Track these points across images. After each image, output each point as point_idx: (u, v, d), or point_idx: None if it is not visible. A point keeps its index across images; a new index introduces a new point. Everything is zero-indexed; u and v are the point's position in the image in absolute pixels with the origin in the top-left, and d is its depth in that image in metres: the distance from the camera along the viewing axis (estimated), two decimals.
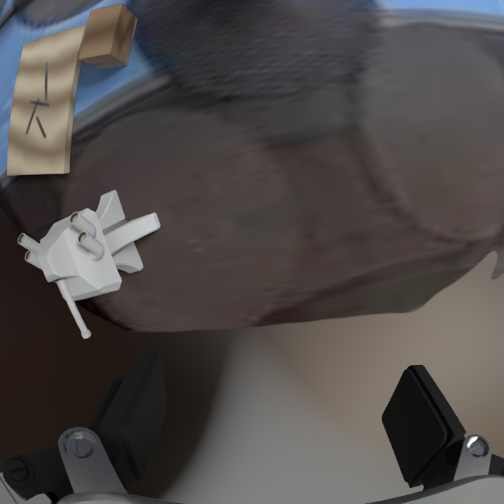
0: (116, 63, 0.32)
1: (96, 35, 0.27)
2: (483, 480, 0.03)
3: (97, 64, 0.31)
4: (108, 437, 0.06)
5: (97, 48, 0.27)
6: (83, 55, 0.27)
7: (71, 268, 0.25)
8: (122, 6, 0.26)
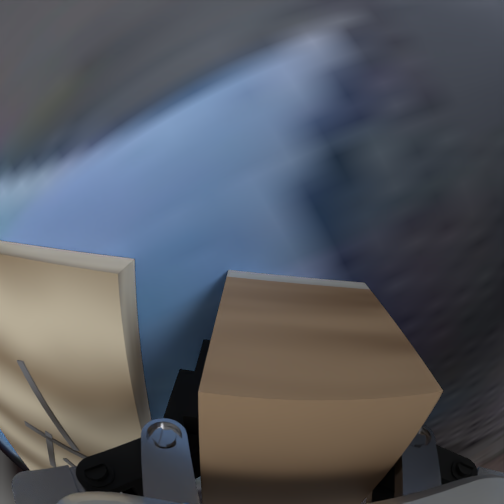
0: None
1: (278, 501, 0.06)
2: (483, 480, 0.03)
3: None
4: (190, 424, 0.07)
5: None
6: None
7: None
8: None
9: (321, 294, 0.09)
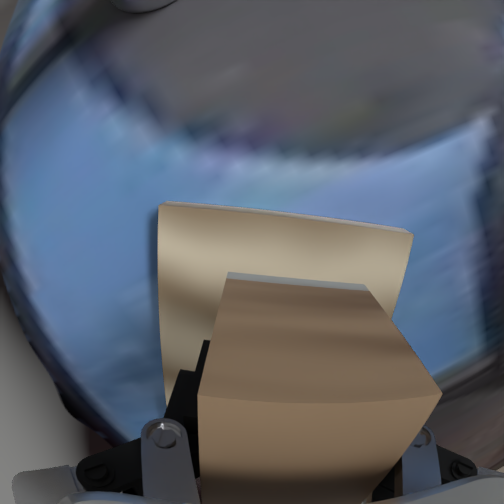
0: None
1: (277, 503, 0.06)
2: (483, 480, 0.03)
3: None
4: (190, 424, 0.07)
5: None
6: None
7: None
8: None
9: (321, 296, 0.09)
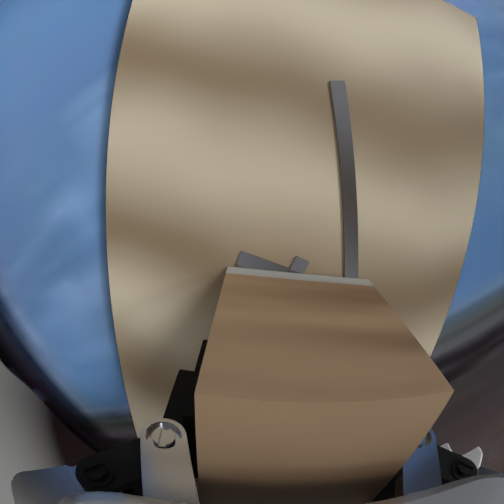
0: None
1: None
2: (483, 480, 0.03)
3: None
4: (190, 424, 0.07)
5: None
6: None
7: None
8: None
9: (324, 291, 0.09)
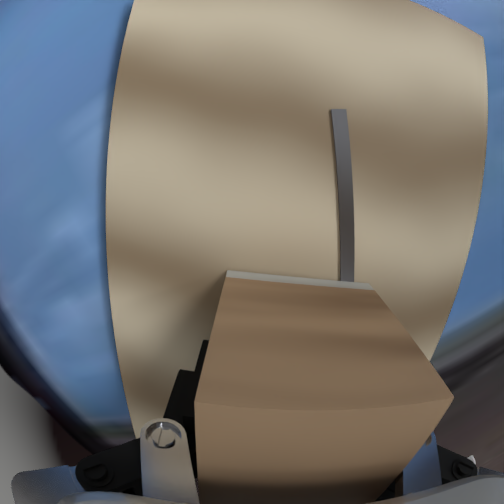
0: None
1: None
2: (483, 480, 0.03)
3: None
4: (189, 424, 0.07)
5: None
6: None
7: None
8: None
9: (324, 295, 0.09)
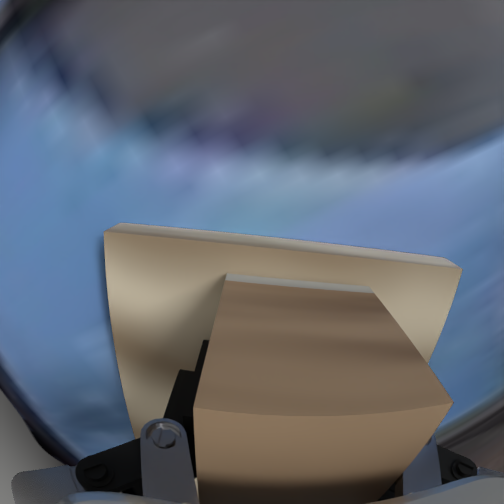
0: None
1: None
2: (483, 480, 0.03)
3: None
4: (190, 424, 0.07)
5: None
6: None
7: None
8: None
9: (324, 299, 0.09)
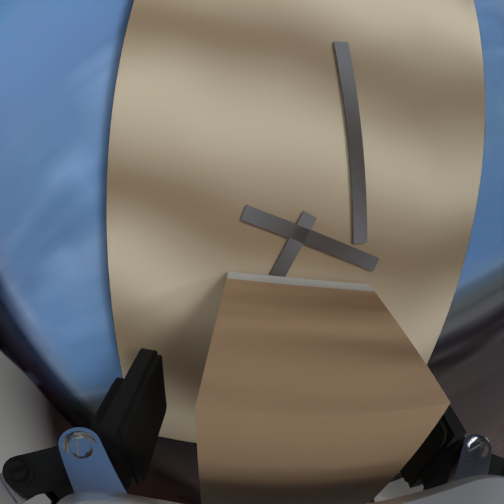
0: None
1: None
2: (483, 480, 0.03)
3: None
4: (108, 437, 0.06)
5: None
6: None
7: None
8: None
9: (325, 297, 0.09)
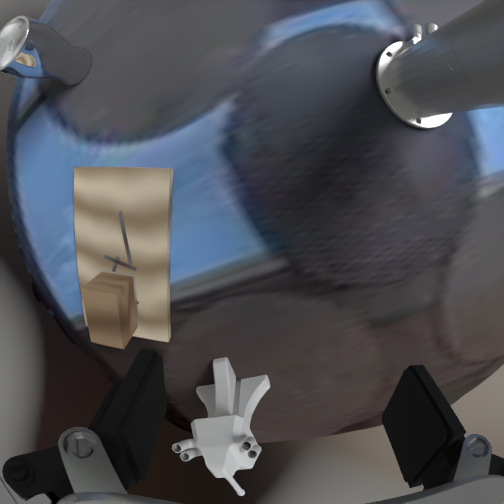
0: None
1: (101, 324, 0.33)
2: (483, 480, 0.03)
3: None
4: (108, 437, 0.06)
5: (107, 338, 0.34)
6: (95, 340, 0.34)
7: (236, 466, 0.30)
8: (117, 296, 0.32)
9: (118, 276, 0.36)
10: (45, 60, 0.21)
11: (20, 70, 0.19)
